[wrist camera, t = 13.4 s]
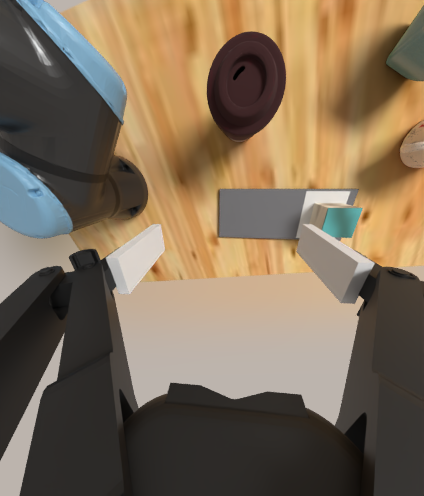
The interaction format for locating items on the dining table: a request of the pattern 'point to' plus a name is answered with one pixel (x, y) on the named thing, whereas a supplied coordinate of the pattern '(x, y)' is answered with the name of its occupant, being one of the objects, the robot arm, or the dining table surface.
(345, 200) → the charcoal mat
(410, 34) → the flower pot
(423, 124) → the teacup with lid
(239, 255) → the dining table surface
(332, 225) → the birch cube
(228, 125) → the coffee cup
